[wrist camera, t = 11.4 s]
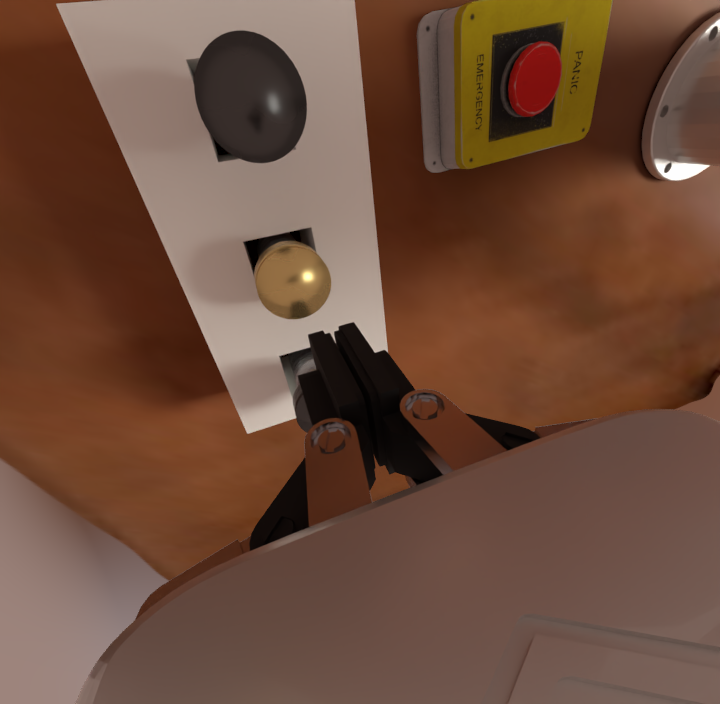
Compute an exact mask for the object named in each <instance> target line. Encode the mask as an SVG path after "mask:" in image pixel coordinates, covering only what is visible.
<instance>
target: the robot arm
mask: <svg viewBox="0 0 720 704" xmlns="http://www.w3.org/2000/svg"><path fill="white" fill-rule="evenodd" d="M642 154H643V160H644V163H645V165H646V168H647V169H648V171H649V172H650V174H651V175H653V176H654V177H656V178H657V179H661V180H667V181H681V180H685V179H688V178H690V177H692V176H694V175H697V174H698V173H700V172H701V171H703V170H704V169H706V168H707V167H708V166H710V165H713V166H720V12H719V13H717V14H715V15H714V16H713V17H711V18H710V19H708V20H707V21H705V22H704V23H703V24H702V25H701V26H700V27H699V28H697V29H696V30H695V31H694V32H693V33H692V34H691V35H690V36H689V38H688V39H687V40H686V41H685V42H684V44H683V45H682V46H681V47H680V48H679V50H678V51H677V52H676V54H675V55H674V57H673V58H672V60H671V61H670V63H669V64H668V66H667V68H666V69H665V71H664V73H663V75H662V77H661V79H660V80H659V82H658V84H657V87H656V89H655V91H654V94H653V96H652V98H651V101H650V104H649V107H648V110H647V113H646V117H645V122H644V127H643V132H642ZM334 336H335V341H336V343H335V341H334V339H333V337H332V335H331V334H330V333H327V334H325V333H324V331H323V330H322V331H319V332H315V333H311V334H308V338H309V342H310V347H311V351H312V355H313V359H314V363H315V367H316V370H315V371H311V372H308V373H304V374H301V375H298V380H299V383H300V387H301V390H302V394H303V397H304V401H305V404H306V407H307V411H308V414H309V417H310V421H311V424H312V428H311V429H310V430H309V431H308V433H307V434H306V436H305V443H304V444H305V458H304V459H303V461H302V462H301V464H300V465H299V466H298V468H297V469H296V471H295V472H294V473H293V475H292V476H291V477H290V479H289V480H288V482H287V483H286V484H285V486H284V487H283V489H282V490H281V491H280V493H279V494H278V495H277V497H276V498H275V500H274V501H273V502H272V504H271V505H270V507H269V508H268V509H267V511H266V512H265V513H264V515H263V516H262V518H261V519H260V520H259V522H258V523H257V525H256V526H255V528H254V530H253V532H252V534H251V536H250V537H248V538H247V539H245V540H243V541H242V542H239V541H238V539H237V540H235V541H234V542H232V543H231V544H229V545H227V546H226V547H224V548H222V549H221V550H219V551H217V552H216V553H214V554H213V555H211V556H209V557H208V558H206V559H204V560H203V561H201V562H199V563H198V564H196V565H195V566H193V567H191V568H190V569H188V570H186V571H185V572H183V573H181V574H180V575H178V576H177V577H175V578H173V579H172V580H170V581H168V582H167V583H165V584H163V585H162V586H161V587H159V588H158V589H157V590H155V591H154V592H153V593H152V594H150V596H149V597H148V598H147V600H146V601H145V602H144V603H143V605H142V606H141V608H140V610H139V612H138V615H137V617H136V619H135V621H134V622H133V623H132V624H131V625H129V626H128V627H127V628H126V629H125V630H124V631H123V632H122V633H121V634H120V635H119V636H118V637H117V638H116V639H115V640H114V641H113V642H112V643H111V644H110V646H109V647H108V648H107V649H106V651H105V652H104V653H103V654H102V656H101V657H100V658H99V660H98V661H97V663H96V664H95V666H94V667H93V669H92V671H91V673H90V674H89V676H88V678H87V680H86V681H85V683H84V685H83V687H82V689H81V692H80V694H79V696H78V699H77V701H76V703H75V704H720V422H719V421H716V420H714V419H712V418H709V417H707V416H704V415H701V414H697V413H694V412H689V411H682V410H672V409H645V410H638V411H630V412H622V413H618V414H614V415H609V416H605V417H601V418H598V419H589V420H582V421H575V422H568V423H561V424H555V425H548V426H541V427H535V431H533V432H532V431H531V430H529V429H526V428H523V427H520V426H516V425H512V424H508V423H504V422H499V421H495V420H491V419H487V418H483V417H478V416H474V415H470V414H466V413H464V412H463V411H462V410H461V409H459V408H458V407H457V406H456V405H455V404H454V403H453V402H451V401H450V400H449V399H448V398H447V397H446V396H444V395H443V394H441V393H440V392H437V391H435V390H430V389H418V390H415V389H414V387H413V386H412V385H411V383H410V382H409V381H408V379H407V378H406V377H405V375H404V374H403V373H402V371H401V370H400V369H399V367H398V366H397V365H396V363H395V362H394V360H393V359H392V358H391V356H390V355H389V354H388V352H387V351H386V350H382V351H379V352H376V353H375V352H374V351H373V349H372V348H371V346H370V345H369V343H368V342H367V340H366V339H365V337H364V336H363V335H362V333H361V332H360V330H359V329H358V327H357V326H356V324H355V323H354V322H352V323H348V324H344V325H341V326H339V330H338V331H334ZM373 454H374V455H373ZM374 456H375V458H376V460H377V462H378V464H379V466H383V465H385V466H386V468H387V470H388V472H389V474H392V473H394V472H396V473H399V474H402V475H405V477H406V481H407V483H408V484H409V486H410V487H411V488H409V489H406V490H403V491H401V492H398V493H396V494H393V495H390V496H388V497H385V498H383V499H380V500H377V501H375V502H372V499H371V495H370V490H371V488H372V486H373V484H374V482H375V480H376V478H375V471H374V469H375V461H374Z"/></svg>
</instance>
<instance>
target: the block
mask: <svg viewBox="0 0 720 704" xmlns="http://www.w3.org/2000/svg"><path fill="white" fill-rule="evenodd" d="M56 5H57V8H58V10H59V12H60V14H61V17H62V19H63V21H64V23H65V26H66V28H67V30H68V32H69V35H70V37H71V39H72V41H73V44H74V46H75V48H76V50H77V52H78V55H79V57H80V59H81V61H82V64H83V66H84V68H85V70H86V73H87V75H88V77H89V79H90V82H91V84H92V86H93V88H94V91H95V93H96V95H97V97H98V100H99V102H100V104H101V106H102V109H103V111H104V113H105V115H106V118H107V120H108V122H109V124H110V127H111V129H112V131H113V133H114V135H115V138H116V140H117V142H118V144H119V147H120V149H121V151H122V153H123V156H124V158H125V160H126V162H127V165H128V167H129V169H130V171H131V174H132V176H133V178H134V180H135V183H136V185H137V187H138V189H139V192H140V194H141V196H142V198H143V201H144V203H145V205H146V207H147V210H148V212H149V214H150V216H151V218H152V221H153V223H154V225H155V227H156V230H157V232H158V234H159V236H160V239H161V241H162V243H163V245H164V248H165V250H166V252H167V254H168V257H169V259H170V261H171V263H172V266H173V268H174V270H175V272H176V275H177V277H178V279H179V281H180V284H181V286H182V288H183V290H184V293H185V295H186V297H187V299H188V301H189V304H190V306H191V308H192V310H193V313H194V315H195V317H196V319H197V322H198V324H199V326H200V328H201V331H202V333H203V335H204V337H205V340H206V342H207V344H208V346H209V349H210V351H211V353H212V355H213V358H214V360H215V362H216V364H217V367H218V369H219V371H220V373H221V375H222V378H223V380H224V382H225V384H226V387H227V389H228V391H229V393H230V396H231V398H232V400H233V402H234V405H235V407H236V409H237V411H238V414H239V416H240V418H241V420H242V423H243V425H244V427H245V429H246V432H247V434H248V433H251V432H254V431H258V430H261V429H264V428H267V427H270V426H273V425H276V424H279V423H282V422H285V421H288V420H291V419H295V418H296V415H295V411H294V407H293V395H294V392H295V390H296V388H297V384H296V381H295V378H294V374H293V371H292V368H291V364H290V361H289V356H285V357H282V358H281V355H285V354H288V353H292V352H295V351H299V350H302V349H306V348H309V347H310V342H309V338H308V334H311V333H315V332H319V331H322V330H323V331H324V333H325V334H327V333H330V334H331V335H332V337H333V339H334V341H335V336H334V331H338V330H339V326H341V325H344V324H348V323H352V322H354V323H355V324H356V326H357V327H358V329H359V330H360V332H361V333H362V335H363V336H364V337H365V339H366V340H367V342H368V343H369V345H370V346H371V348H372V349H373V351H374V352H375V353H376V352H379V351H382V350H386V351H387V352H388V348H387V338H386V327H385V317H384V306H383V295H382V285H381V274H380V264H379V253H378V243H377V232H376V221H375V211H374V200H373V190H372V179H371V169H370V158H369V147H368V137H367V126H366V116H365V105H364V95H363V84H362V73H361V63H360V52H359V42H358V31H357V20H356V10H355V0H101V1H88V2H74V3H60V4H56ZM240 30H244V31H251V32H255V33H258V34H260V35H263V36H265V37H267V38H268V39H270V40H271V41H273V42H274V43H276V44H277V45H278V46H279V47H280V48H281V49H282V50H283V51H284V52H285V53H286V54H287V55H288V56H289V58H290V59H291V61H292V62H293V63H294V65H295V67H296V69H297V70H298V73H299V75H300V77H301V79H302V82H303V85H304V89H305V94H306V101H307V116H306V123H305V127H304V130H303V133H302V135H301V137H300V140H299V141H298V143H297V144H296V146H295V147H294V148H293V149H292V150H291V151H290V152H289V153H288V154H287V155H285V156H284V157H282V158H281V159H278V160H276V161H273V162H269V163H252V162H248V161H244V160H241V159H239V158H237V157H235V156H233V155H232V154H225V155H218V152H217V149H216V145H215V142H214V139H213V137H212V136H211V134H210V133H209V131H208V130H207V128H206V127H205V125H204V123H203V121H202V119H201V116H200V113H199V111H198V107H197V104H196V99H195V91H194V80H195V78H194V76H195V72H196V67H197V64H198V61H199V59H200V56H201V55H202V53H203V51H204V50H205V48H206V47H207V46H208V45H209V44H210V43H211V42H212V41H213V40H214V39H215V38H217V37H219V36H220V35H222V34H225V33H227V32H231V31H240ZM296 230H299V233H300V238H301V242H302V243H304V244H306V245H308V246H310V247H311V248H312V249H313V250H314V251H315V252H316V253H317V254H318V255H319V256H320V258H321V259H322V260H323V261H324V263H325V264H326V266H327V267H328V270H329V272H330V276H331V290H330V294H329V296H328V299H327V300H326V302H325V303H324V305H323V306H322V307H321V308H320V309H319V310H318V311H316V312H315V313H314V314H312V315H310V316H308V317H305V318H301V319H285V318H281V317H279V316H276V315H274V314H273V313H271V312H270V311H269V310H267V309H266V308H265V306H264V305H263V304H262V302H261V300H260V298H259V296H258V292H257V288H256V284H255V278H254V268H253V265H252V262H251V258H250V255H249V252H248V249H247V245H246V242H245V241H249V240H254V239H259V238H263V237H268V236H272V235H277V234H282V233H286V232H291V231H296ZM335 343H336V341H335Z"/></svg>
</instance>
